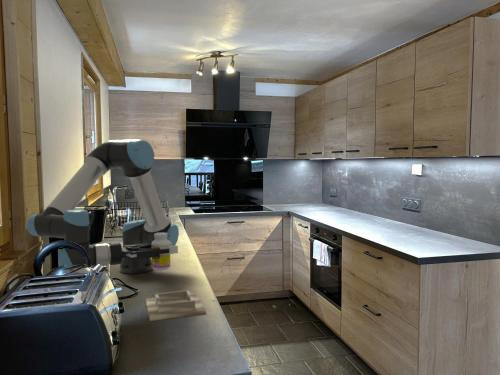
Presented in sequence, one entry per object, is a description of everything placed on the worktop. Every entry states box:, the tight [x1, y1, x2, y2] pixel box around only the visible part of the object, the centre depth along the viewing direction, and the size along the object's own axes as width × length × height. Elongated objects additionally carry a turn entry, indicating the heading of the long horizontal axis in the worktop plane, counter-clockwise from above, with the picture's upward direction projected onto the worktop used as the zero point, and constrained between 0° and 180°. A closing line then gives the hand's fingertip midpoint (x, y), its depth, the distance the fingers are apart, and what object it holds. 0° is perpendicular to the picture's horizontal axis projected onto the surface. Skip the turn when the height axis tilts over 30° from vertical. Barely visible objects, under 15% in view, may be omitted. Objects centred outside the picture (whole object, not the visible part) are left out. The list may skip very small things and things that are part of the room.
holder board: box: [145, 289, 207, 322], centre depth 131 cm, size 18×18×4 cm
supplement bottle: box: [151, 233, 171, 271], centre depth 138 cm, size 7×7×13 cm
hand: (174, 247), depth 140 cm, fingers closed on supplement bottle, 7 cm apart
